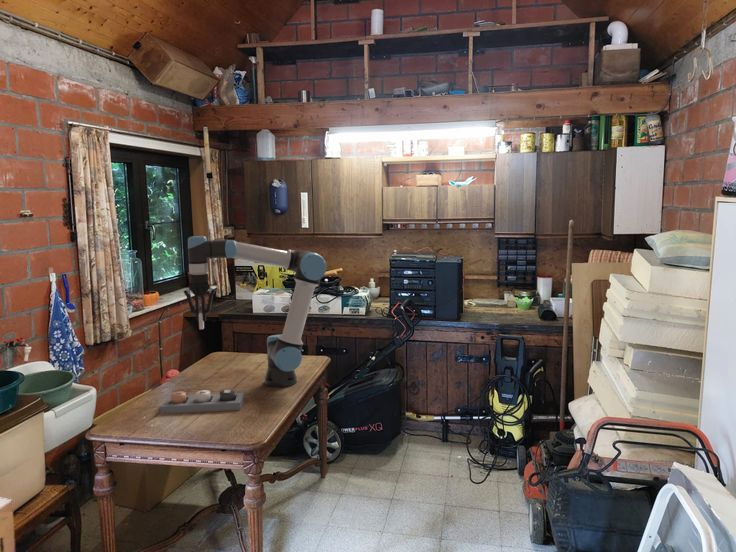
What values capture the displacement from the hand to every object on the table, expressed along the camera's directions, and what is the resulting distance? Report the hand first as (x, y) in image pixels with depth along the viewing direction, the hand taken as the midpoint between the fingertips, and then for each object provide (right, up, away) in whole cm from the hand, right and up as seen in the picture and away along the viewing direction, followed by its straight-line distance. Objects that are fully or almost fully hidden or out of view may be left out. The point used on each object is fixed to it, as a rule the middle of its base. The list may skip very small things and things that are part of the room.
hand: (201, 328), depth 227 cm
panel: (+1, -33, -1) cm, 33 cm away
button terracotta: (-9, -31, -2) cm, 32 cm away
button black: (+11, -30, 0) cm, 32 cm away
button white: (+1, -30, -1) cm, 30 cm away
